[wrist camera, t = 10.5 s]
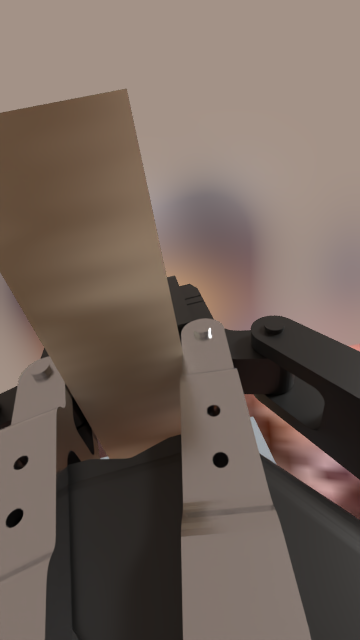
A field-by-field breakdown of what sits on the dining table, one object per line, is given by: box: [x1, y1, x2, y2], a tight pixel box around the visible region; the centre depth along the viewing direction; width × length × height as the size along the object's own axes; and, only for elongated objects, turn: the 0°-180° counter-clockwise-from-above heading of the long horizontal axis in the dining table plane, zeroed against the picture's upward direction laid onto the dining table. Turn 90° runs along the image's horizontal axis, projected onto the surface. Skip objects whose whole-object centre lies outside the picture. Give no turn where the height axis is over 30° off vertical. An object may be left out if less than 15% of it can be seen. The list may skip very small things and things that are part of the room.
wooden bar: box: [0, 89, 183, 459], centre depth 10 cm, size 3×4×16 cm
